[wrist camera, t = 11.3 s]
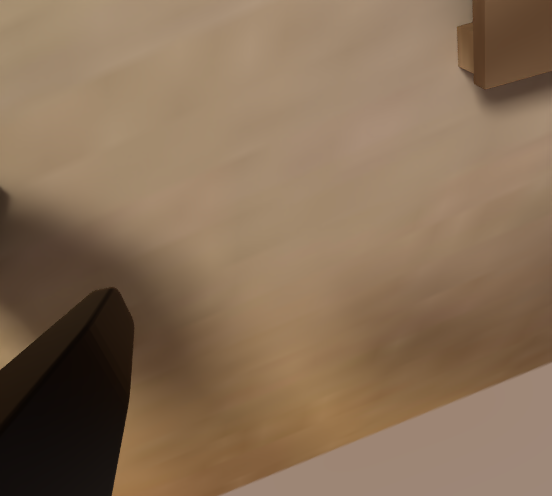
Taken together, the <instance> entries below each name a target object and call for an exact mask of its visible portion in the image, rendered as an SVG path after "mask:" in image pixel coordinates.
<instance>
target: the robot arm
mask: <svg viewBox="0 0 552 496" xmlns="http://www.w3.org/2000/svg"><path fill="white" fill-rule="evenodd" d="M133 341H134V322H133V319H132V316H131V314H130V312H129V310H128V308H127V306H126V304H125V302H124V300H123V298H122V296H121V294H120V292H119V291H118V290H117V289H116V288H114V287H109V288H104V289H99V290H95V291H93V292H92V293H90V294H89V295H88V296H87V297H86V298H84V299H83V300H82V301H81V302H80V303H79V304H77V305H76V306H75V307H74V308H73V309H72V310H70V311H69V312H68V313H67V314H66V315H65V316H63V317H62V318H61V319H60V320H59V321H57V322H56V323H55V324H54V325H53V326H52V327H50V328H49V329H48V330H47V331H46V332H45V333H43V334H42V335H41V336H40V337H39V338H38V339H36V340H35V341H34V342H33V343H32V344H30V345H29V346H28V347H27V348H26V349H25V350H23V351H22V352H21V353H20V354H19V355H18V356H16V357H15V358H14V359H13V360H12V361H11V362H9V363H8V364H7V365H6V366H5V367H3V368H2V369H1V370H0V496H112V491H113V485H114V480H115V475H116V469H117V464H118V458H119V453H120V448H121V442H122V437H123V432H124V426H125V421H126V416H127V410H128V404H129V397H130V387H131V372H132V356H133Z"/></svg>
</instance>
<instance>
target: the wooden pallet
mask: <svg viewBox="0 0 552 496" xmlns="http://www.w3.org/2000/svg"><path fill="white" fill-rule="evenodd" d="M457 38H458V66H459V67H461V68H463V69H465V70H467V71H469V72H471V73H473V74H474V84H476V85H477V86H479V87H481V88H483V89H485V90H486V89H489V88H493V87H496V86H500V85H503V84H507V83H511V82H514V81H518V80H521V79H525V78H528V77H532V76H536V75H539V74H543V73H546V72H550V71H552V0H473V22H472V23H469V24H465V25H462V26H458V27H457Z"/></svg>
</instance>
